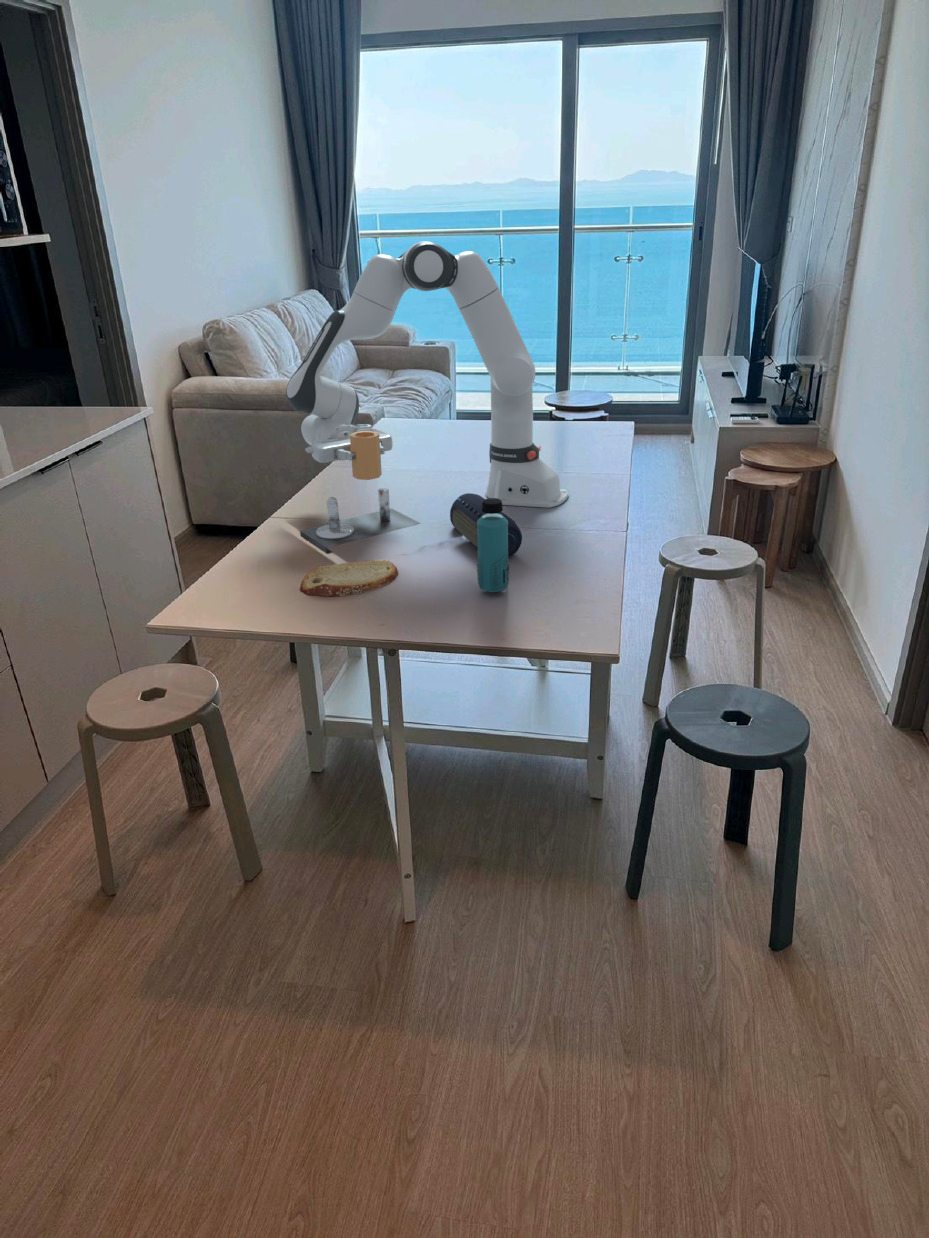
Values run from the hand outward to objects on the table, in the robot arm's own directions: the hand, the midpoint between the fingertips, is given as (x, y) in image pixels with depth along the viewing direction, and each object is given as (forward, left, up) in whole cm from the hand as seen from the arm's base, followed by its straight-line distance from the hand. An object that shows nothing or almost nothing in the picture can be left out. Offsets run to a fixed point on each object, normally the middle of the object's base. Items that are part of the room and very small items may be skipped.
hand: (367, 454), depth 197 cm
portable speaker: (-29, -2, -20) cm, 35 cm away
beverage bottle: (-41, +22, -19) cm, 51 cm away
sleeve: (+1, 0, -5) cm, 6 cm away
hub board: (+2, +2, -19) cm, 20 cm away
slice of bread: (-11, +28, -20) cm, 36 cm away
